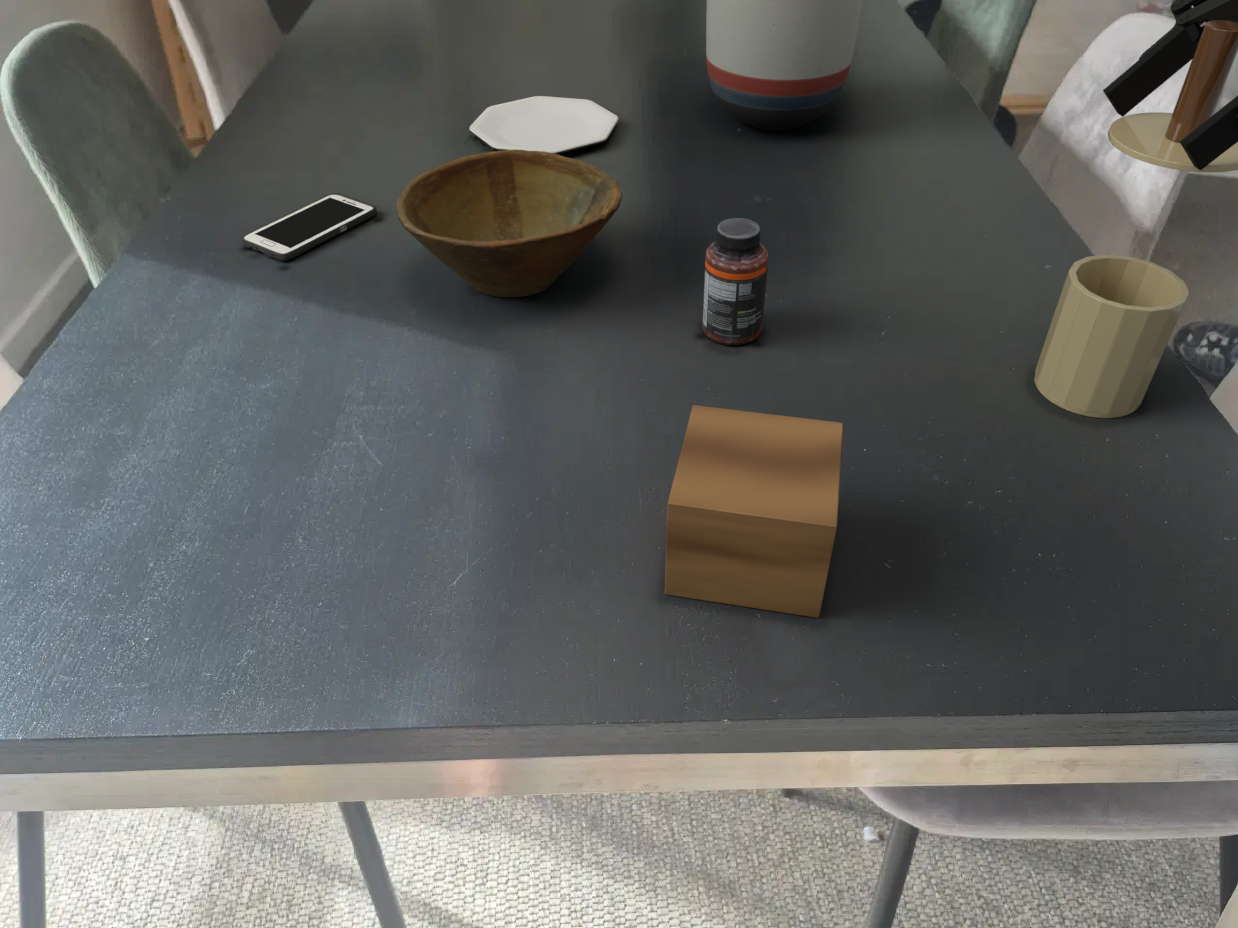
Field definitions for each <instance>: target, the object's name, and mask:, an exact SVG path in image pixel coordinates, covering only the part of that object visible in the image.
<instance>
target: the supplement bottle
mask: <svg viewBox="0 0 1238 928" xmlns="http://www.w3.org/2000/svg"><path fill="white" fill-rule="evenodd" d="M704 257H705V258H704V259H705V261H704V279H703V298H702V302H703V303H702V307H701V310H702V319H701V320H702V321H701V322H702V330H703V332H704V334H705V336H707V338H708V339H710V340H711V341H713V342H716V343H719V344H722V345H725V346H740V345H745V344H749V343H751V342H753V341H754V340H756V339H757V338H758V337H759V336H760V334H761V332H762V330H763V323H764V312H765V302H766V293H767V291H766V290H767V281H768V279H767V278H768V271H769V252H768V250H767V249H766V247H765V246H764V245H763V243H761V227H760V225H759V224H758V223H757V222H755V221H753V220H751V219H749V218H748V219H747V218H743V217H733V218H728V219H724V220H722V221H721V222H719V224H718V225H717V227H716V236H715V240H714V242H712V243H710V245H709V246H708V247H707V249H706V251H705V256H704Z"/></svg>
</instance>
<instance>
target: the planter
mask: <svg viewBox="0 0 1238 928" xmlns="http://www.w3.org/2000/svg"><path fill="white" fill-rule="evenodd" d="M863 1H864V0H706V17H705V18H706V21H705V47H706V48H705V56H706V57H705V58H706V59H705V60H706V69H707V77H708V79H709V84H710V87H711V91H712V93H713V95H714V97H715V99H716V100H717V102H718V103H719V104H720V106H721V107H722V108H723V109H724V110H725V111H726V112H727V113H728V114H729V115H730V116H732V117H733V118H734V119H735V120H737V121H739V122H740V123H742V124H744V125H747V126H750V127H752V128H756V129H760V130H767V131H784V130H792V129H794V128H798V127H803V126H804V125H806V124H809V123H810V122H812V121H814V120H816V119H817V118H819V117H820V116H821V115H823V114H824V113H825V112H826V111H828V110H829V109H830V108H831V106H832V105H834V103H835V101H836V100H837V99H838V98H839V96H840V94H841V92H842V90H843V88H844V85H845V84H846V81H847V78H848V77H849V72H850V69H851V65H852V61H853V57H854V53H855V46H856V42H857V36H858V30H859V25H860V19H861V13H862V7H863Z"/></svg>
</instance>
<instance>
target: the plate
mask: <svg viewBox="0 0 1238 928" xmlns="http://www.w3.org/2000/svg"><path fill="white" fill-rule="evenodd" d="M619 121H620V120H619V116H618V115H617V114H615V113H613V112H611V111H609V110H607V109H606V108H605V107H603V106H601V105H599V104H598V103H596V102H595V101H593V100H590V99H585V98H572V97H560V96H559V97H558V96H547V95H546V96H545V95H536V96H535V95H534V96H530V97H526V98H521V99H516V100H512V101H507V102H503V103H499V104H494V105H490V106H488V107H486V108H485V109H484V111H482V112H481V114H479V116H478V117H477V118H476V119H475V120H474V121H473V122H472V123H471V124H470V125H469V132H470V133H471V134H472V135H474V136H475V137H476V138H477V139H479V140H480V141H482V142H483V143H484V144H486V145H487V146H488V147H489V148H491V149H492V150H493V151H503V150H514V149H516V150H526V151H543V152H550V153H554V154H558V155H561V154H564V153H569V152H572V151H576V150H579V149H580V150H581V149H584V148H588V147H591V146H596V145H600V144H603V143H605V142H607V141H608V139H609V137H610V136H611V134H612V132H613V131H614V129H615V127H616V125H617V124H618V122H619Z"/></svg>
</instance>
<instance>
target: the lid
mask: <svg viewBox="0 0 1238 928" xmlns="http://www.w3.org/2000/svg"><path fill="white" fill-rule="evenodd" d="M1204 25H1205V26H1204ZM1204 25H1203V26H1204V29H1203V31H1202V34H1201V37H1200V40H1199V42H1198V45H1197V48H1196V51H1195V53H1194V56H1193V59H1192V60H1191V61H1190V63H1189V67H1188V69H1187V72H1186V76H1185V78H1184V81H1183V83H1182V86H1181V89H1180V91H1179V95H1178V96H1177V97H1178V98H1177V100H1176V103H1175V106H1174V108H1173V112H1164V111H1163V112H1161V111H1159V112H1157V111H1156V112H1155V111H1153V112H1139V113H1133V114H1129V115H1124V116H1123V117H1122V116H1120V117H1119V118H1116V120H1114V121H1113V122H1111V124H1110V125H1109V128H1108V130H1107V139H1108V141H1109V143H1110V144H1111V145H1112V146H1113V147H1114V148H1115V149H1117V150H1118V151H1120V152H1121V153H1123V154H1124V155H1127V156H1128V157H1131V158H1133V159H1136V160H1138V161H1141V162H1144V163H1147V164H1150V165H1154V166H1158V167H1162V168H1166V169H1170V170H1171V169H1172V170H1177V171H1184V172H1192V173H1193V172H1195V173H1227V172H1234V171H1238V142H1237V143H1236V144H1234V145H1233V146H1232V147H1230V148H1229V149H1228V150H1227V151H1225V152H1224V153H1223V154H1221V155H1220V156H1219V157H1218V158H1216V159H1215V160H1214V161H1212V162H1211V163H1210V164H1209V165H1207V166H1206V167H1205V168H1203V169H1202V170H1201V171H1200V170H1199V169H1197V168H1196V167H1195V166H1194V165H1193V163H1192V162H1191V160H1190V158H1189V157H1188V155H1187V154H1186V152H1185V150H1184V149H1183V147H1182V145H1181V144H1180V141H1181V140H1183V139H1184V138H1185V137H1186V136H1188V135H1189V134H1190V133H1191V132H1193V131H1194V130H1195V129H1196V128H1198V127H1199V126H1200V125H1201V124H1203V123H1204V122H1205V121H1206V120H1208V119H1209V118H1210V117H1211V116H1213V115H1214V114H1215V113H1214V112H1215V110H1216V108H1217V106H1218V103H1219V100H1220V97H1221V95H1222V93H1223V90H1224V87H1225V85H1226V83H1227V80H1228V78H1229V75H1230V72H1231V69H1232V67H1233V64H1234V62H1235V60H1236V57H1237V54H1238V23H1237V22H1232V21H1225V20H1214V21H1208V22H1205V23H1204Z"/></svg>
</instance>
